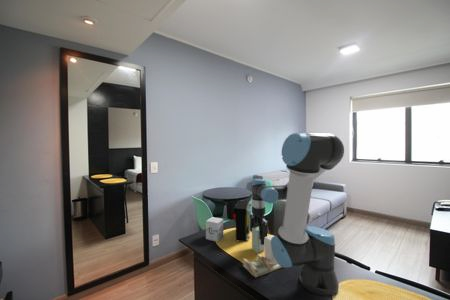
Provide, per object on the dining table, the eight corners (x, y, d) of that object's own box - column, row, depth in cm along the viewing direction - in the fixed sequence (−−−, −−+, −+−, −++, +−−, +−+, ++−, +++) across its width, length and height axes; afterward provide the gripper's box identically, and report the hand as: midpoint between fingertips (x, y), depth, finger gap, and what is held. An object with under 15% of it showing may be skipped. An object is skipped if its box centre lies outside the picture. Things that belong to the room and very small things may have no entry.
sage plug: (264, 250, 116) (264, 229, 116) (257, 252, 114) (257, 231, 113) (258, 246, 120) (259, 226, 120) (251, 248, 118) (252, 227, 118)
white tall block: (279, 262, 103) (279, 238, 102) (271, 265, 100) (271, 241, 100) (272, 257, 107) (272, 235, 106) (264, 260, 104) (264, 237, 104)
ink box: (212, 233, 137) (212, 216, 137) (223, 236, 134) (223, 218, 133) (205, 239, 130) (205, 220, 129) (217, 242, 126) (217, 223, 125)
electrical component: (249, 241, 126) (249, 209, 126) (232, 240, 128) (233, 208, 128) (251, 229, 144) (251, 201, 143) (236, 228, 146) (237, 200, 145)
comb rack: (286, 265, 102) (286, 258, 101) (255, 277, 92) (255, 269, 92) (272, 256, 110) (272, 249, 110) (243, 266, 101) (243, 258, 101)
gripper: (274, 210, 110) (274, 253, 111) (254, 201, 126) (253, 239, 127) (263, 212, 107) (263, 256, 107) (243, 203, 122) (243, 242, 123)
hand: (258, 247), depth 117 cm, fingers closed on sage plug, 5 cm apart
